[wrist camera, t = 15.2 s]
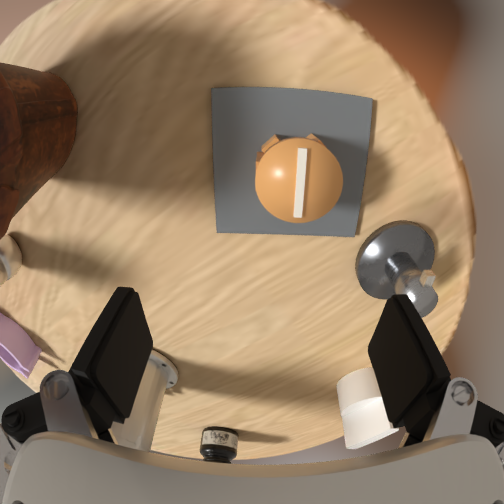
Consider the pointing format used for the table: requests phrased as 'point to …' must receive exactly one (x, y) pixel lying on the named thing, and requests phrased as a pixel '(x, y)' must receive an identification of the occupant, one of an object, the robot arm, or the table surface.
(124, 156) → the table surface
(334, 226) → the mat
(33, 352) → the clip
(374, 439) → the cylinder with rectangular tab
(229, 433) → the ink bottle
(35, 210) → the table surface
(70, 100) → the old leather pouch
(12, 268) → the plastic bottle
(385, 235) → the grey post on disc
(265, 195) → the orange ellipsoid with prongs
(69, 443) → the robot arm
